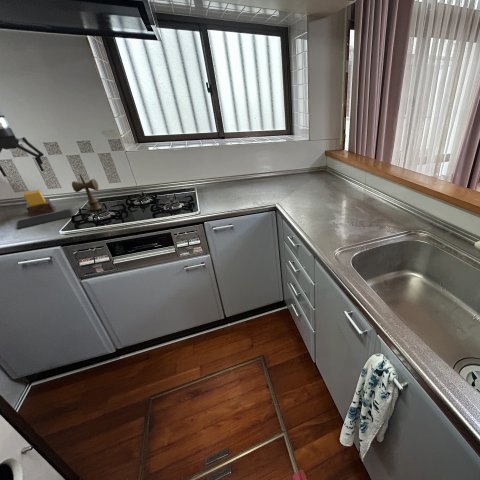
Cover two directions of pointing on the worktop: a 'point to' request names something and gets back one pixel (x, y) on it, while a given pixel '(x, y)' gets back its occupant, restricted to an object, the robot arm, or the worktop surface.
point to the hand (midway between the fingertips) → (24, 173)
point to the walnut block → (40, 208)
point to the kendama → (88, 192)
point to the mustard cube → (34, 197)
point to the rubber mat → (43, 219)
